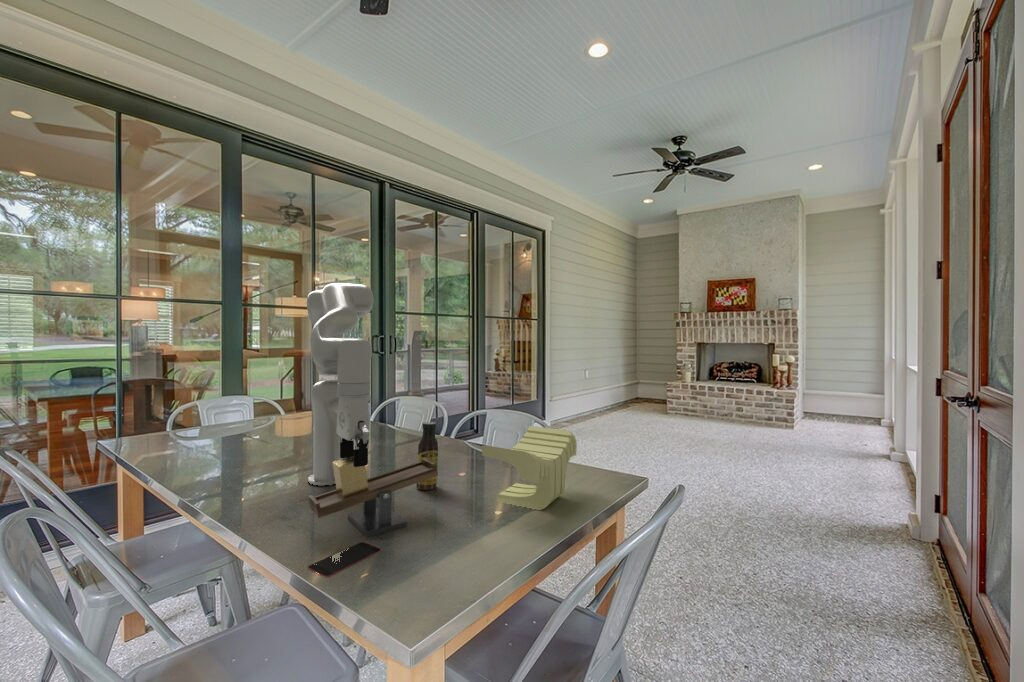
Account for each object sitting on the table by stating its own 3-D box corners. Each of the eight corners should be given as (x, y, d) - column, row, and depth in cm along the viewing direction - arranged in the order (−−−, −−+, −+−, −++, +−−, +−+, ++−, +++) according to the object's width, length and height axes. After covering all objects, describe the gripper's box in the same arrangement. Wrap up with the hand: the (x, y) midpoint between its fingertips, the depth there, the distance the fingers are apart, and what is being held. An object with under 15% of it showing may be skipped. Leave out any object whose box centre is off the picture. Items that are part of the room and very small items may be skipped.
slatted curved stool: (535, 524, 115) (537, 453, 115) (481, 511, 123) (482, 445, 122) (575, 488, 142) (576, 431, 142) (528, 480, 149) (529, 425, 149)
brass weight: (337, 493, 111) (332, 462, 110) (361, 485, 115) (357, 454, 114) (343, 500, 107) (338, 467, 106) (368, 491, 111) (364, 459, 110)
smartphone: (383, 549, 100) (326, 577, 89) (383, 552, 100) (326, 580, 89) (362, 540, 104) (305, 566, 92) (362, 543, 104) (305, 569, 92)
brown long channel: (309, 509, 109) (307, 494, 108) (424, 470, 127) (422, 457, 126) (319, 521, 103) (316, 505, 102) (438, 477, 120) (436, 464, 120)
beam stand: (347, 518, 117) (348, 483, 117) (385, 509, 123) (386, 476, 123) (366, 536, 107) (366, 498, 106) (406, 526, 113) (407, 489, 112)
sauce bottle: (419, 492, 137) (420, 425, 136) (413, 486, 142) (414, 421, 142) (440, 489, 140) (441, 423, 139) (434, 483, 145) (435, 420, 145)
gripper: (327, 388, 115) (326, 456, 115) (350, 394, 101) (349, 472, 101) (357, 386, 120) (356, 452, 120) (383, 392, 106) (382, 467, 106)
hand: (353, 461), depth 110 cm, fingers open, 9 cm apart
